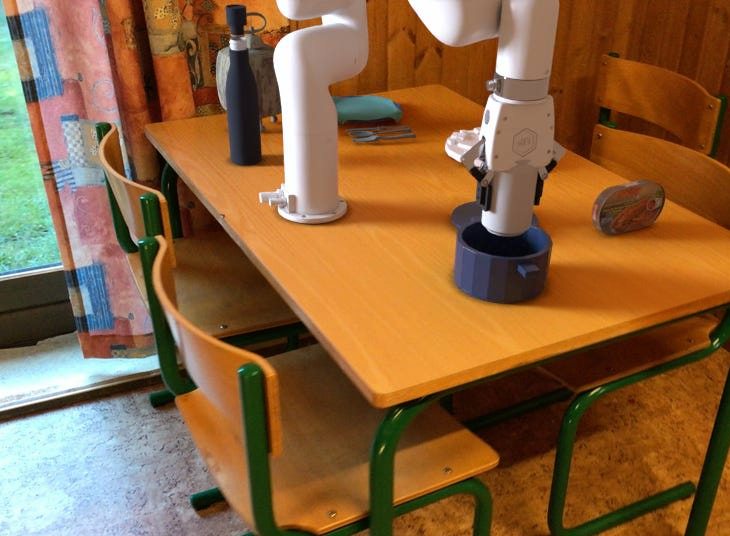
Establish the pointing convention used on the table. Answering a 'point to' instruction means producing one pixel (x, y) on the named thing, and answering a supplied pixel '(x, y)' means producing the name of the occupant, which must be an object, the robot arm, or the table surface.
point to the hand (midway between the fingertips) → (508, 204)
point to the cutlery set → (369, 116)
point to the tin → (628, 206)
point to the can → (511, 200)
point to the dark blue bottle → (241, 94)
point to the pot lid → (472, 214)
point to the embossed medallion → (463, 143)
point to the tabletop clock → (255, 73)
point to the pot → (501, 263)
